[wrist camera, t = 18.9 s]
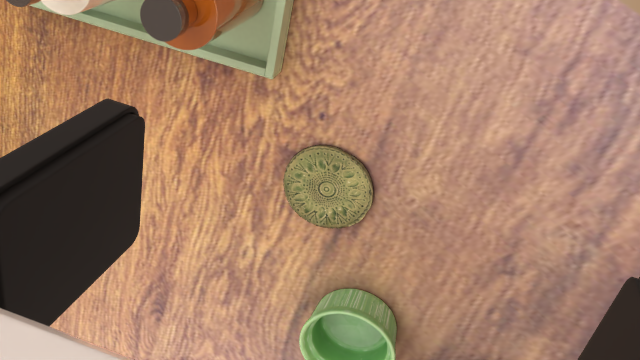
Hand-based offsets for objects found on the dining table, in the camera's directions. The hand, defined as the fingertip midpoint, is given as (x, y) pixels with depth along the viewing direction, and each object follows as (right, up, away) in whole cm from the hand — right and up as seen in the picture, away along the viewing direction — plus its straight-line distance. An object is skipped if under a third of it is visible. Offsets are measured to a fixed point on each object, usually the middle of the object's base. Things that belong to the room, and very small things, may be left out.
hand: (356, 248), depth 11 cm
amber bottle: (-7, +16, +34) cm, 38 cm away
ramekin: (+3, -12, +46) cm, 48 cm away
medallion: (0, +1, +40) cm, 40 cm away
